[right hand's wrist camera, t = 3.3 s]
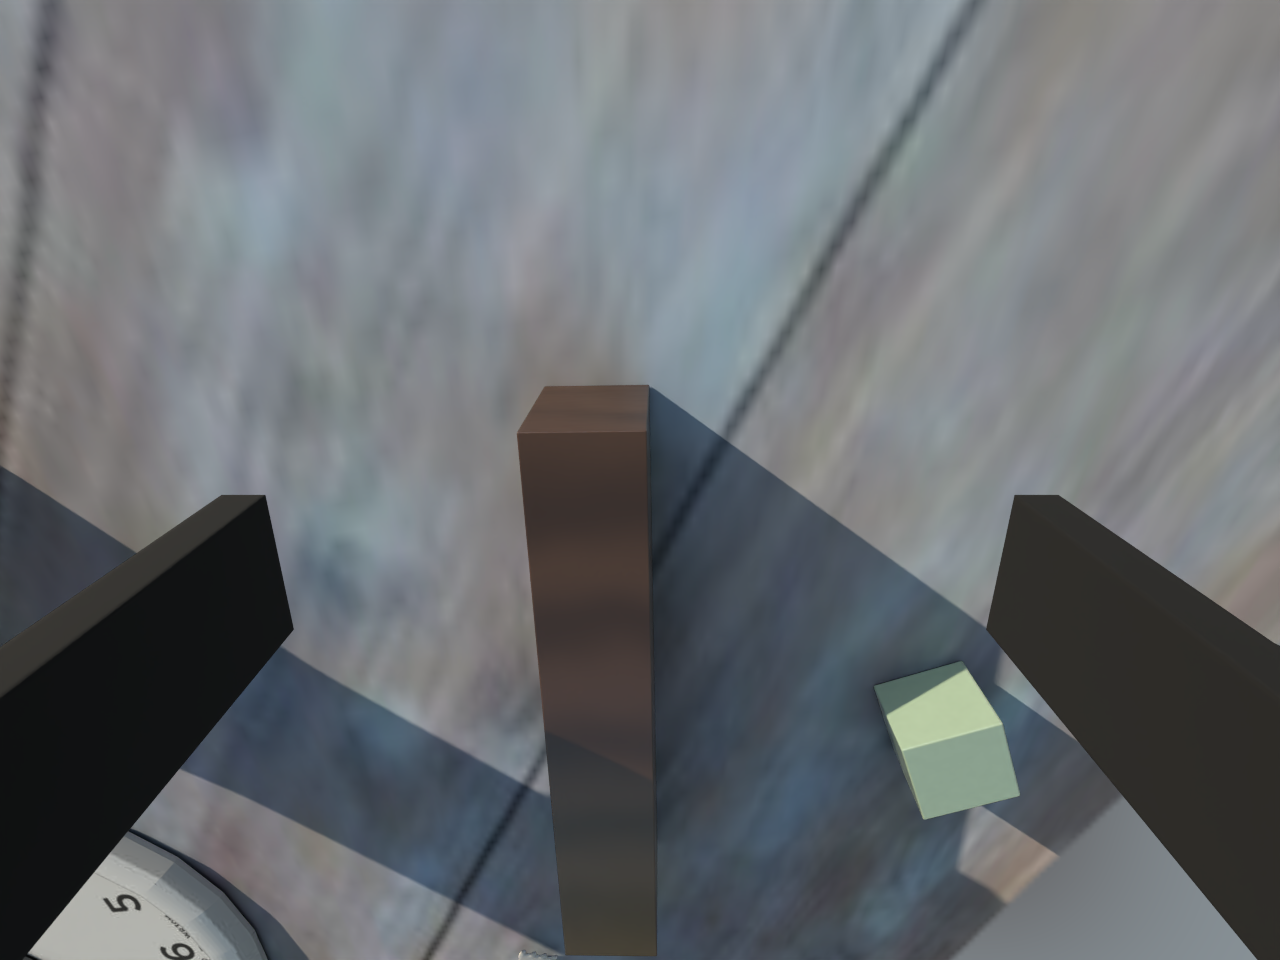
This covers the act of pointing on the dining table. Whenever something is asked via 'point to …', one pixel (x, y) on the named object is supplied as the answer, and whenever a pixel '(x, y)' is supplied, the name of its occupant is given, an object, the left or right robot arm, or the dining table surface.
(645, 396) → the walnut block
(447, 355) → the dining table surface
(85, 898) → the wall clock
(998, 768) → the sage block
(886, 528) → the dining table surface
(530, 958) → the fork
